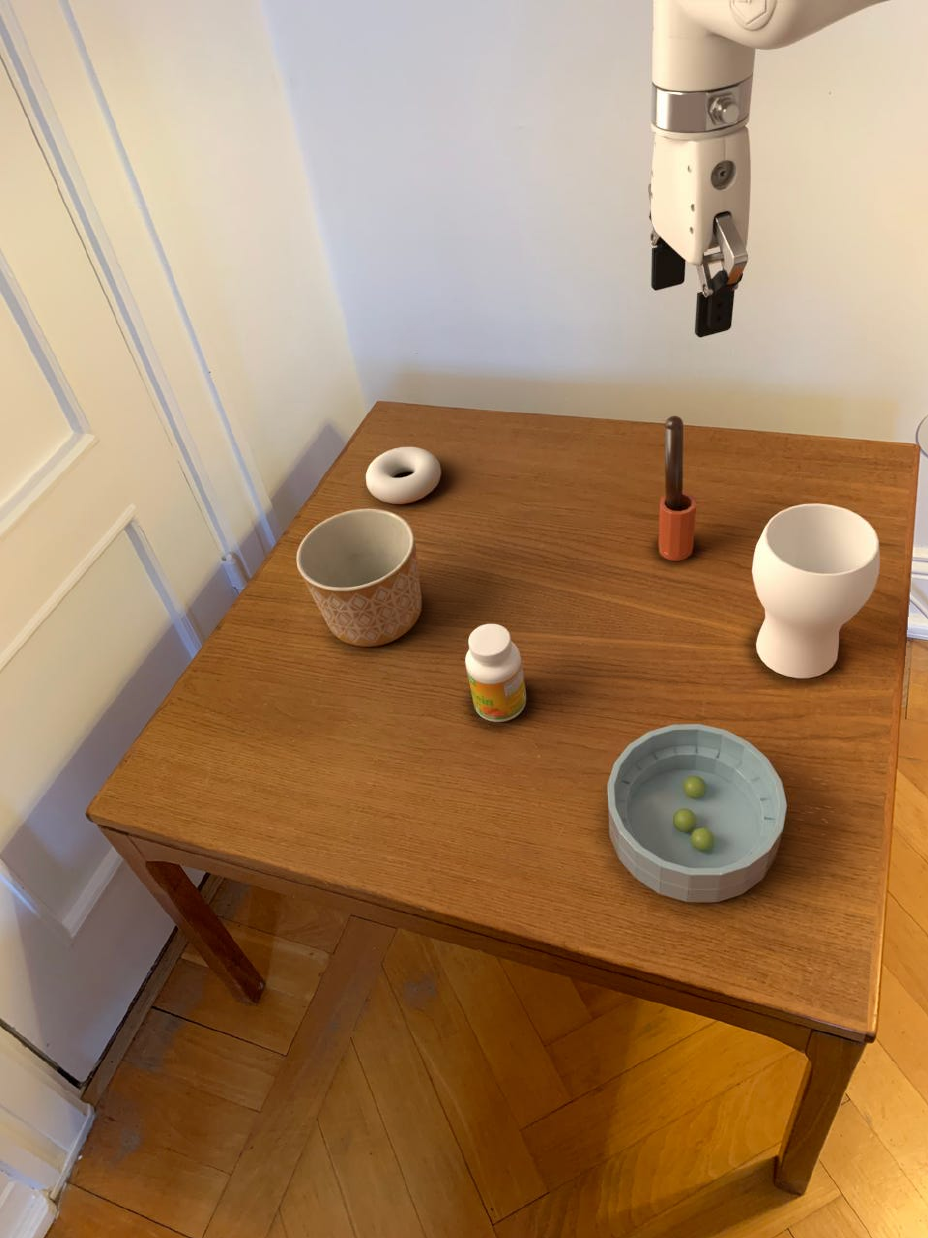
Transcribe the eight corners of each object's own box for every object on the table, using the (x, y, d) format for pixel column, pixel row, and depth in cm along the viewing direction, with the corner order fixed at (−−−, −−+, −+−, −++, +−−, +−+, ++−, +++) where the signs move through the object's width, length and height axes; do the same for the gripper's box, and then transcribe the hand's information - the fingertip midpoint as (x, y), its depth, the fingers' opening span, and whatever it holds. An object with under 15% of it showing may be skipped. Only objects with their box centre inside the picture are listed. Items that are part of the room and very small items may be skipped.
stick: (678, 537, 98) (678, 410, 87) (684, 546, 97) (686, 419, 86) (663, 541, 98) (662, 415, 87) (669, 551, 97) (669, 423, 85)
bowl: (730, 741, 80) (736, 705, 76) (809, 876, 70) (820, 844, 66) (586, 784, 79) (584, 750, 75) (646, 927, 69) (647, 897, 65)
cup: (739, 684, 84) (755, 576, 73) (742, 606, 91) (757, 496, 80) (856, 696, 81) (891, 584, 71) (850, 614, 88) (881, 501, 77)
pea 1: (713, 781, 76) (698, 769, 75) (708, 801, 75) (693, 789, 74) (695, 785, 77) (681, 773, 77) (691, 804, 76) (675, 792, 75)
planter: (446, 584, 100) (431, 515, 92) (405, 665, 92) (385, 598, 84) (349, 568, 104) (328, 501, 96) (302, 645, 96) (275, 579, 89)
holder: (684, 534, 100) (687, 487, 95) (698, 555, 97) (702, 508, 92) (653, 543, 99) (654, 496, 94) (666, 564, 97) (668, 517, 92)
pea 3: (720, 831, 72) (712, 853, 73) (697, 821, 73) (689, 842, 74) (716, 836, 71) (708, 858, 71) (693, 826, 71) (685, 848, 72)
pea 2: (695, 807, 74) (682, 801, 73) (705, 826, 73) (692, 821, 72) (677, 819, 75) (664, 814, 74) (687, 839, 74) (674, 834, 73)
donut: (457, 475, 114) (400, 453, 118) (454, 454, 111) (396, 432, 116) (410, 519, 109) (353, 494, 114) (405, 498, 106) (347, 474, 111)
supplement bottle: (463, 705, 87) (448, 642, 80) (499, 672, 90) (488, 609, 82) (501, 733, 84) (489, 670, 77) (537, 699, 87) (529, 635, 79)
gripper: (802, 123, 61) (773, 341, 74) (698, 64, 73) (687, 261, 85) (703, 147, 61) (690, 363, 73) (614, 84, 73) (616, 279, 85)
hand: (689, 308), depth 79 cm, fingers open, 9 cm apart
